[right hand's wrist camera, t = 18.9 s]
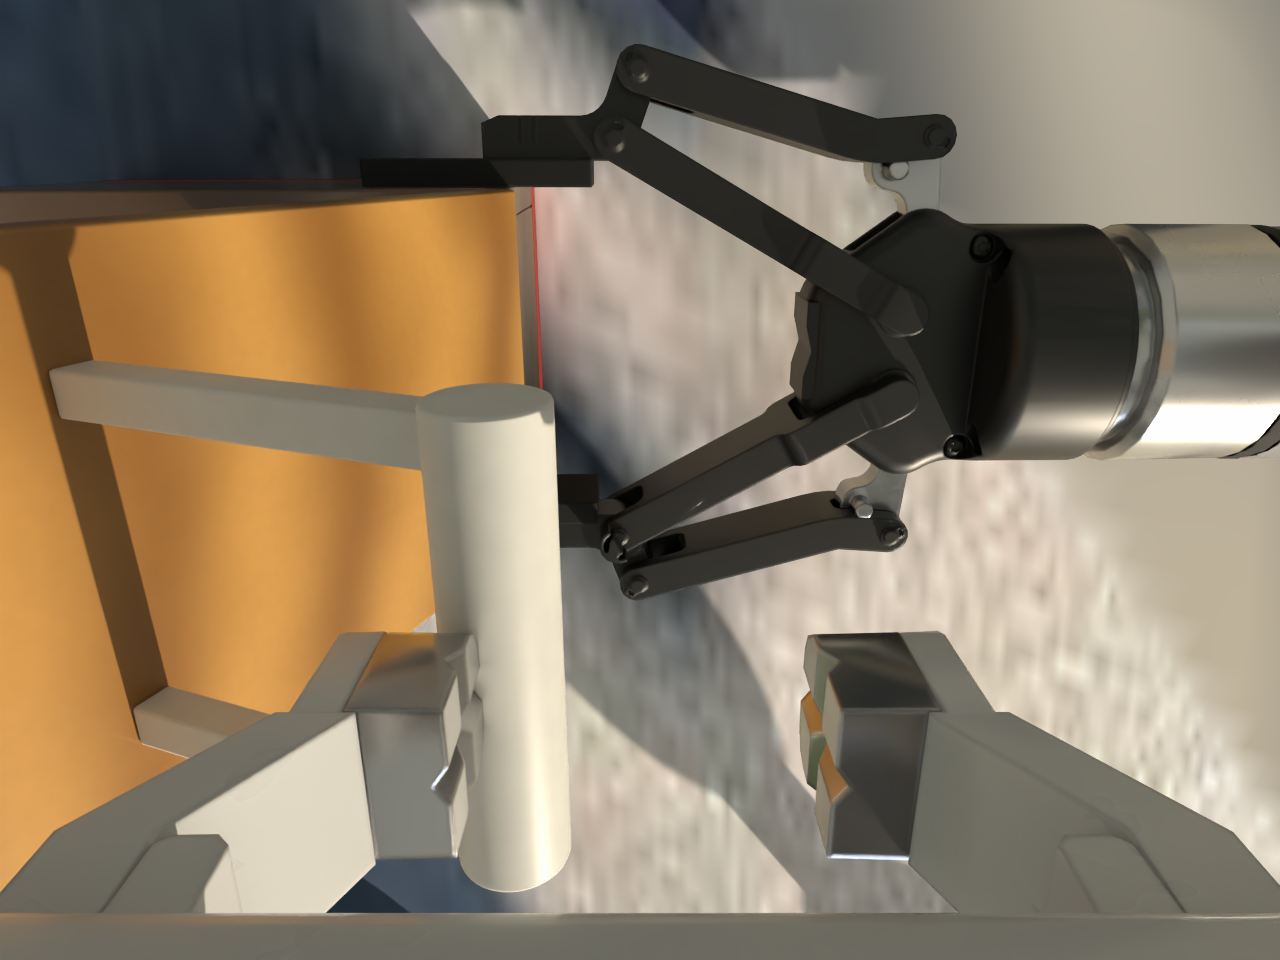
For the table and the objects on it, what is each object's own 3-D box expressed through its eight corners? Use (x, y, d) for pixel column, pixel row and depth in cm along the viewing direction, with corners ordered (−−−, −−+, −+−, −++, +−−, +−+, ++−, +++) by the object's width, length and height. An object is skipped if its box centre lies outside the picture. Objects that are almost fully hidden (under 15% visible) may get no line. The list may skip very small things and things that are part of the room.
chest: (168, 437, 35) (20, 532, 26) (115, 180, 31) (-77, 190, 23) (545, 433, 35) (521, 525, 26) (533, 178, 32) (503, 188, 23)
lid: (-32, 940, 13) (458, 1167, 10) (-291, 243, 9) (351, 280, 6) (506, 529, 26) (775, 574, 23) (485, 188, 23) (798, 192, 20)
